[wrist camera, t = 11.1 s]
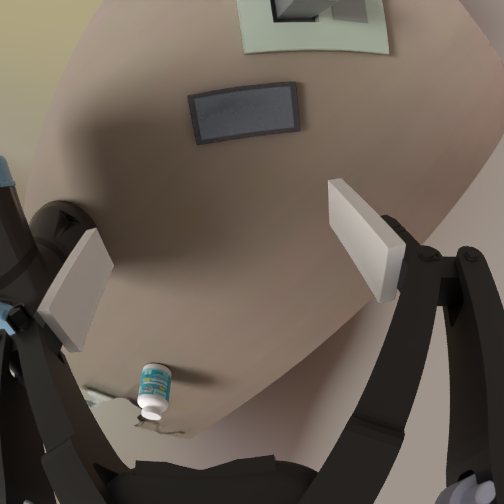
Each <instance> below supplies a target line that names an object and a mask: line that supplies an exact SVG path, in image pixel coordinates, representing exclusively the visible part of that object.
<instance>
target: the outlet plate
mask: <svg viewBox="0 0 504 504" xmlns="http://www.w3.org/2000/svg"><path fill="white" fill-rule="evenodd" d="M236 2H237V9H238V15H239V22H240V28H241V35H242V41H243V48H244V55H245V54H255V53H266V52H280V51H349V52H363V53H374V54H389V46H388V37H387V29H386V22H385V15H384V9H383V3H382V0H339V2H338V3H336V4H334V5H332V6H331V7H329V8H327V9H326V10H324V11H322V12H321V13H319V14H318V15H316V16H314V17H313V18H311V19H310V20H304V19H295V20H276V15H275V9H274V3H273V0H236Z"/></svg>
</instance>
